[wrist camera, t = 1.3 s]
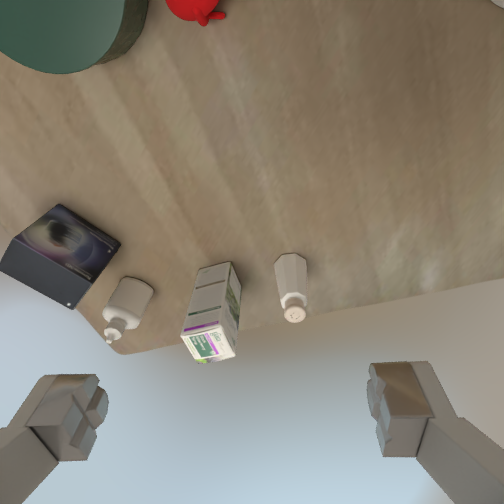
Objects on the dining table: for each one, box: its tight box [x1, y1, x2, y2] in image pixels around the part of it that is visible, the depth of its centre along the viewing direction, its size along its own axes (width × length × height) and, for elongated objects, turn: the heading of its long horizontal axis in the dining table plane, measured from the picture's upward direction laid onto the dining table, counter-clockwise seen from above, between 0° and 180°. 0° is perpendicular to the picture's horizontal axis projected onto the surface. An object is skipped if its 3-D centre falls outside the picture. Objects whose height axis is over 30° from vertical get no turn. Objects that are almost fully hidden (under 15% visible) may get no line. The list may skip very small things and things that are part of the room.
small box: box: [0, 204, 121, 310], centre depth 46 cm, size 11×6×10 cm, turn 50°
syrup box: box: [181, 262, 242, 364], centre depth 48 cm, size 6×6×14 cm
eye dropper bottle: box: [103, 277, 154, 343], centre depth 51 cm, size 4×6×12 cm
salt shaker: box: [274, 253, 307, 322], centre depth 48 cm, size 5×5×11 cm
